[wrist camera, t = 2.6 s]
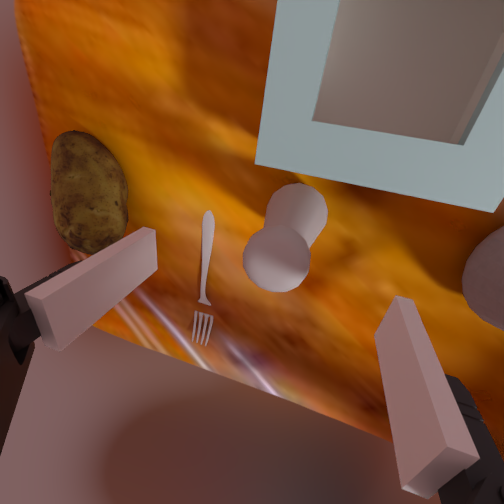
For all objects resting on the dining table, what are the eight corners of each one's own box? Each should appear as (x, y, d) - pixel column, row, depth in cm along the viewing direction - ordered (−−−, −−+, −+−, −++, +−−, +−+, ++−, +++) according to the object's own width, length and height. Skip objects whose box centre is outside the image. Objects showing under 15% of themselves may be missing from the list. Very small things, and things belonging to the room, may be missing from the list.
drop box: (438, 180, 22) (493, 212, 14) (280, 150, 24) (254, 163, 17) (557, -57, 15) (788, -245, 7) (320, -63, 18) (306, -207, 10)
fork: (225, 187, 28) (218, 191, 27) (213, 339, 40) (208, 347, 39) (198, 181, 29) (191, 185, 27) (194, 333, 41) (189, 341, 39)
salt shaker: (263, 190, 27) (211, 239, 16) (317, 168, 24) (299, 208, 13) (284, 239, 28) (250, 314, 17) (335, 223, 26) (334, 299, 15)
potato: (138, 137, 28) (74, 142, 21) (148, 240, 34) (101, 270, 28) (77, 127, 30) (0, 128, 23) (97, 227, 36) (41, 251, 29)
